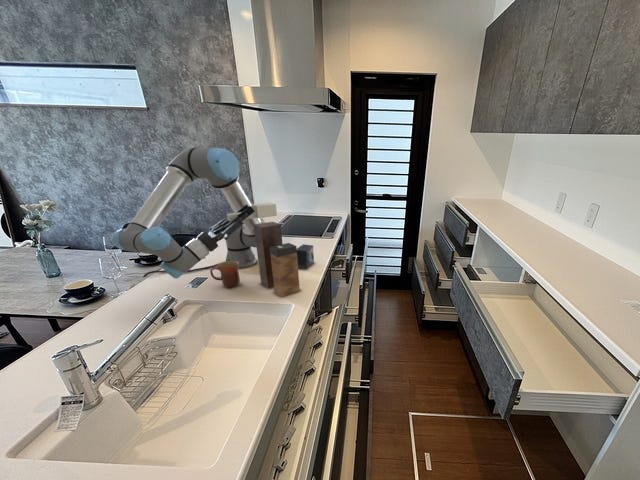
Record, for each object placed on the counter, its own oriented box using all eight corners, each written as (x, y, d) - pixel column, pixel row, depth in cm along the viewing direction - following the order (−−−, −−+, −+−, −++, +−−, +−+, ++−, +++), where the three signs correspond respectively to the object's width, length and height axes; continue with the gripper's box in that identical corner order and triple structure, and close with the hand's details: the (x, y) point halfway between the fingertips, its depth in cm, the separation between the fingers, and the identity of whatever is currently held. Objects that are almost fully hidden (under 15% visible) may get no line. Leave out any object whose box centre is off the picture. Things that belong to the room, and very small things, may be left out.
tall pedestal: (268, 288, 137) (261, 227, 126) (261, 283, 141) (253, 224, 130) (286, 283, 143) (280, 224, 131) (278, 278, 147) (272, 221, 136)
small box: (307, 269, 158) (306, 250, 154) (295, 268, 159) (294, 249, 155) (314, 263, 168) (313, 244, 164) (303, 261, 169) (302, 243, 165)
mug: (240, 280, 144) (237, 259, 140) (243, 287, 137) (239, 266, 133) (213, 284, 139) (208, 263, 135) (213, 291, 132) (209, 270, 128)
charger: (231, 222, 117) (229, 209, 115) (226, 220, 120) (224, 207, 118) (277, 215, 130) (275, 203, 128) (271, 213, 133) (270, 202, 131)
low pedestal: (281, 297, 129) (277, 257, 122) (274, 292, 133) (270, 253, 126) (299, 290, 135) (296, 252, 128) (292, 286, 139) (289, 249, 132)
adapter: (277, 257, 122) (276, 249, 121) (270, 253, 126) (269, 246, 125) (296, 252, 128) (296, 245, 127) (289, 249, 132) (288, 242, 131)
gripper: (202, 247, 122) (247, 212, 131) (217, 257, 112) (265, 218, 121) (189, 233, 117) (236, 197, 126) (203, 242, 107) (254, 203, 116)
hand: (250, 208), depth 123 cm, fingers closed on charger, 3 cm apart
